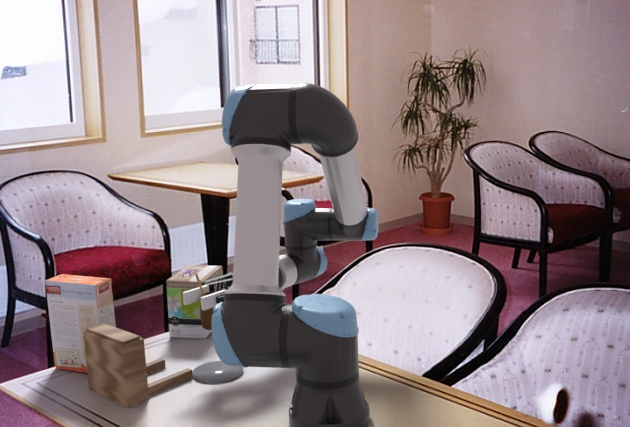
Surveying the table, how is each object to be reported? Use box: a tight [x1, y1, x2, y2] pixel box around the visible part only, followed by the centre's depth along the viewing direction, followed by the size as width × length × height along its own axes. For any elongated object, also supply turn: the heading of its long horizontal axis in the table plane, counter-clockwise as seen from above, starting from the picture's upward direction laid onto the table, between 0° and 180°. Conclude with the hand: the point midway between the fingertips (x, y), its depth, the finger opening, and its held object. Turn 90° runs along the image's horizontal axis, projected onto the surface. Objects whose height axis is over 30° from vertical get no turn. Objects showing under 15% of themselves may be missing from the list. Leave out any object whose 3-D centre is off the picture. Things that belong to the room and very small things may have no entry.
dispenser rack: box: [83, 323, 194, 409], centre depth 171 cm, size 14×18×14 cm
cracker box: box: [44, 273, 117, 374], centre depth 180 cm, size 14×6×21 cm, turn 65°
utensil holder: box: [195, 272, 226, 330], centre depth 173 cm, size 6×6×12 cm
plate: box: [192, 360, 244, 384], centre depth 176 cm, size 11×11×1 cm
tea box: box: [165, 264, 224, 339], centre depth 204 cm, size 15×10×15 cm, turn 168°
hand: (193, 301), depth 169 cm, fingers closed on utensil holder, 5 cm apart
